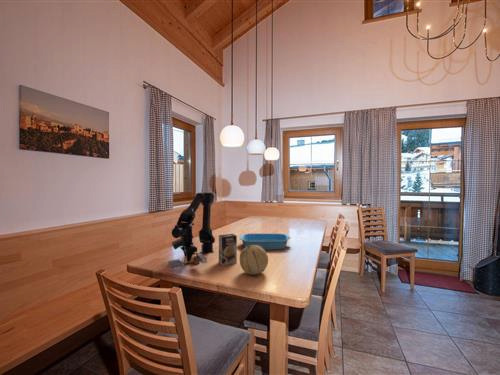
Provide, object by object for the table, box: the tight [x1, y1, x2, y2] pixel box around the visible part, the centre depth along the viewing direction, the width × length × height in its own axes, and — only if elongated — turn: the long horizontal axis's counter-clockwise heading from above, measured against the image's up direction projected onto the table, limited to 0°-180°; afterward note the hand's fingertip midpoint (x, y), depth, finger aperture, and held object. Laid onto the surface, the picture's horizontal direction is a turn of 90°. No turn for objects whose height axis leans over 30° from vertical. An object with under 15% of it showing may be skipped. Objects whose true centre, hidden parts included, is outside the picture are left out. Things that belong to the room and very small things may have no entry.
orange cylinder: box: [183, 255, 196, 264], centre depth 137 cm, size 9×4×4 cm, turn 120°
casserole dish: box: [239, 232, 291, 250], centre depth 170 cm, size 37×22×7 cm, turn 87°
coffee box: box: [218, 233, 238, 266], centre depth 136 cm, size 9×6×16 cm
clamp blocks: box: [193, 252, 200, 265], centre depth 138 cm, size 2×9×4 cm, turn 30°
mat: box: [168, 258, 184, 268], centre depth 134 cm, size 6×10×1 cm, turn 30°
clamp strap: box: [196, 252, 208, 264], centre depth 127 cm, size 2×10×2 cm, turn 30°
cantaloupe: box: [239, 245, 269, 276], centre depth 120 cm, size 15×15×15 cm
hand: (187, 260), depth 136 cm, fingers closed on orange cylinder, 4 cm apart
